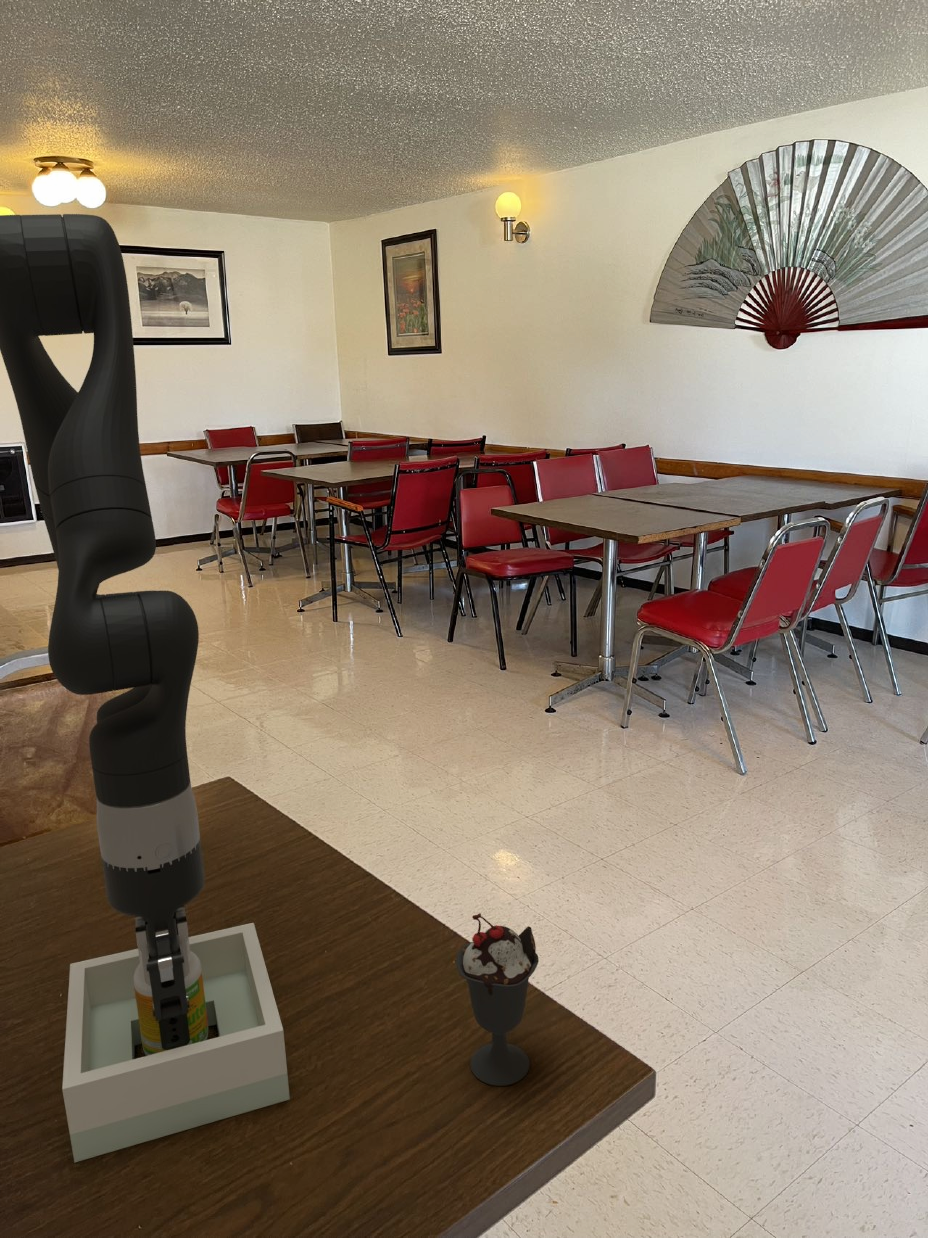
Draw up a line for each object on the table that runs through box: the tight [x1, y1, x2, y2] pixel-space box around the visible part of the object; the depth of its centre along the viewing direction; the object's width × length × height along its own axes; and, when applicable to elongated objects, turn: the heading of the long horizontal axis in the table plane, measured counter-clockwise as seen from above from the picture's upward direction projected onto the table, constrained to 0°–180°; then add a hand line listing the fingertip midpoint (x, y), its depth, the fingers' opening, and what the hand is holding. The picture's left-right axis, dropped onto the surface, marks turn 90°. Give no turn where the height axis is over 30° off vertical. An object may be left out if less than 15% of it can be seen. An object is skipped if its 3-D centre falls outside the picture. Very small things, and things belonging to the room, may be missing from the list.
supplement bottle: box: [134, 935, 209, 1056], centre depth 76 cm, size 5×5×10 cm
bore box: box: [61, 922, 291, 1163], centre depth 77 cm, size 16×16×6 cm
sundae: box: [456, 912, 540, 1087], centre depth 74 cm, size 7×7×15 cm
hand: (173, 1021), depth 77 cm, fingers closed on supplement bottle, 5 cm apart
